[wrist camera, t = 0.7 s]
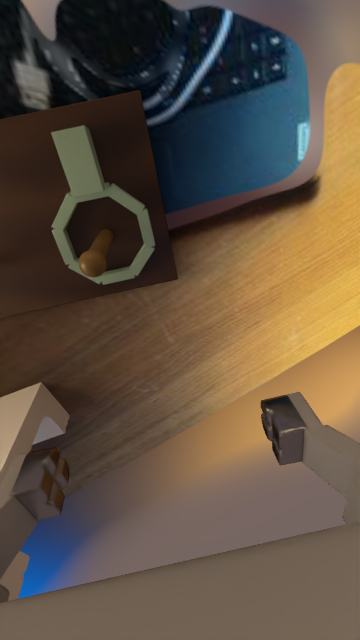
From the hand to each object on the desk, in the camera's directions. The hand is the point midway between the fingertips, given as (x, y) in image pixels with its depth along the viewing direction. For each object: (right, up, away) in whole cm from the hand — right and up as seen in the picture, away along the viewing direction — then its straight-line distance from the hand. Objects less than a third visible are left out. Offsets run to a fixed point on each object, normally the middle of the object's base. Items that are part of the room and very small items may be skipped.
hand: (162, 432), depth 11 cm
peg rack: (-15, +15, +21) cm, 30 cm away
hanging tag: (-8, +16, +20) cm, 27 cm away
